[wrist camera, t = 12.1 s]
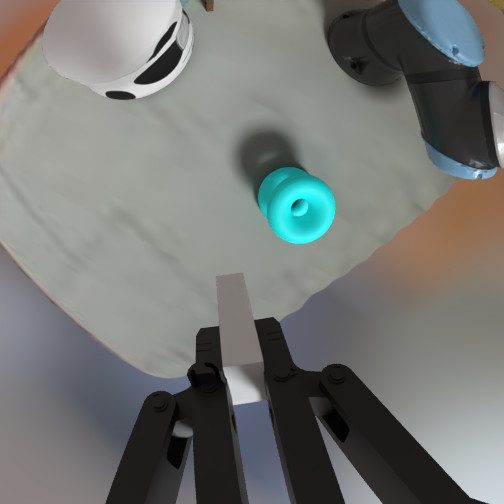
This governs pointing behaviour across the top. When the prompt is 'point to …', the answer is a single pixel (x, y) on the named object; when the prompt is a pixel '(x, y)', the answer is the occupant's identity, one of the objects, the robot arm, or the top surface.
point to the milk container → (119, 44)
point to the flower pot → (498, 3)
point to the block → (184, 3)
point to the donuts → (296, 205)
